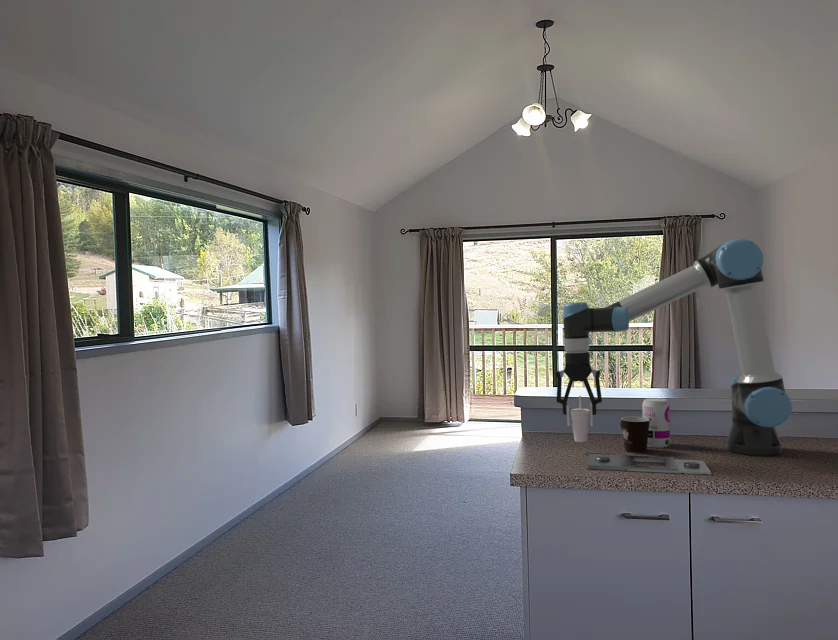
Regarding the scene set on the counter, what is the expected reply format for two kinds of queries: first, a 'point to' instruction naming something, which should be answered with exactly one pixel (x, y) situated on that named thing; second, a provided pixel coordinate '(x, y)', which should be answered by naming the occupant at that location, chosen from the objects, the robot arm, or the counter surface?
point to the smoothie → (580, 422)
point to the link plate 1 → (627, 462)
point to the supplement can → (657, 421)
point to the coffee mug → (635, 433)
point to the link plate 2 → (680, 467)
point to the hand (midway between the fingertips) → (580, 425)
